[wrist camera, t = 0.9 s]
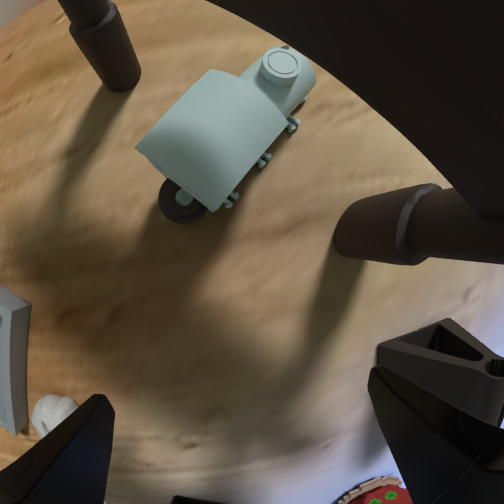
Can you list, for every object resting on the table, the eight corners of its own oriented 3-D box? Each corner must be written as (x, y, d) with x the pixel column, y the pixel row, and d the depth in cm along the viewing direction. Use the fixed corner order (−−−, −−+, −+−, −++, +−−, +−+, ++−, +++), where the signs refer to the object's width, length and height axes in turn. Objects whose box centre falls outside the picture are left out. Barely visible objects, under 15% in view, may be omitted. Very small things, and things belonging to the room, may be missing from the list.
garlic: (45, 373, 18) (16, 399, 13) (96, 398, 19) (74, 432, 14) (46, 420, 18) (23, 448, 13) (93, 443, 19) (76, 476, 14)
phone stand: (375, 399, 22) (452, 471, 10) (377, 343, 22) (475, 404, 10) (443, 368, 23) (521, 412, 11) (448, 317, 23) (540, 348, 11)
